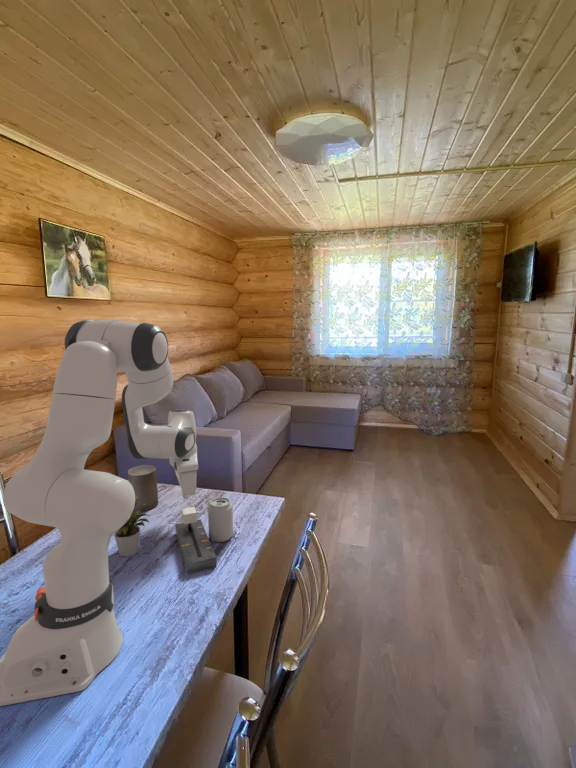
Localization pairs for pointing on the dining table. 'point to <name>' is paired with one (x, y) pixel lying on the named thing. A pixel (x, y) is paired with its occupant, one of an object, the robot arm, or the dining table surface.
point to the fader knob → (189, 515)
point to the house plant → (130, 533)
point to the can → (220, 519)
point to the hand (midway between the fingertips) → (185, 496)
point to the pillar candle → (144, 486)
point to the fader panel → (195, 547)
